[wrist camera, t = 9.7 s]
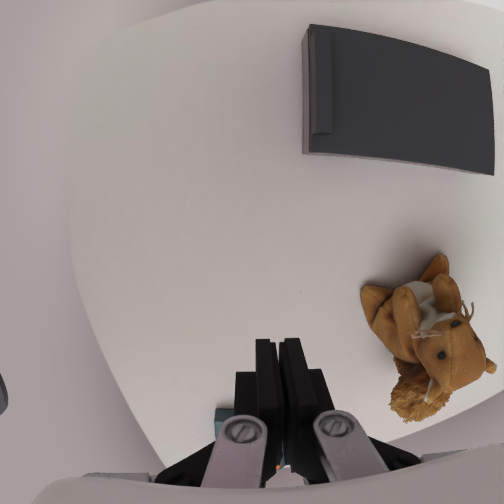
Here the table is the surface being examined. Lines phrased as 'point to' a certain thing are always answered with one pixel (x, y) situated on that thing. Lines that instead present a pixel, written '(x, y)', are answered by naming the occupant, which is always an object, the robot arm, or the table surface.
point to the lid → (398, 101)
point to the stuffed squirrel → (426, 340)
